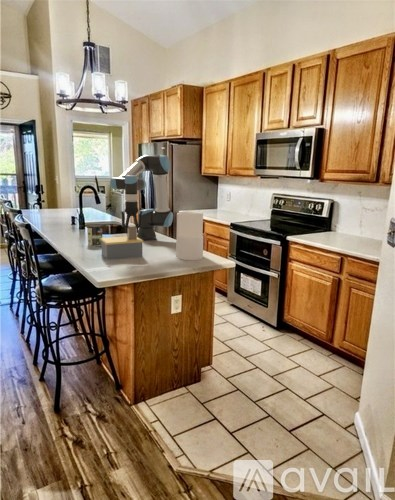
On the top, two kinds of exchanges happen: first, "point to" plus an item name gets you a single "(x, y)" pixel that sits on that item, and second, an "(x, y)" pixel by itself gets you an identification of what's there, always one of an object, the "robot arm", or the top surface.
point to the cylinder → (189, 235)
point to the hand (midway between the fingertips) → (131, 238)
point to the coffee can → (94, 235)
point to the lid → (123, 238)
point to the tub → (121, 250)
